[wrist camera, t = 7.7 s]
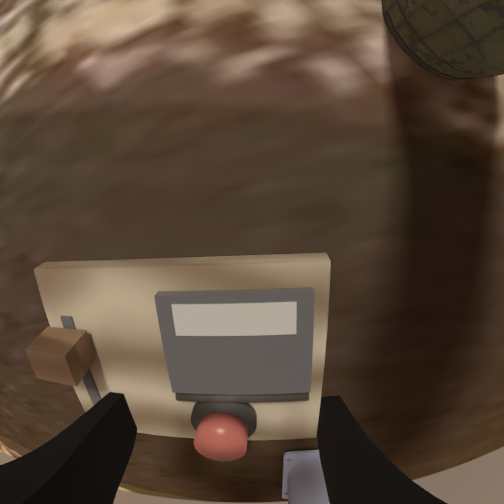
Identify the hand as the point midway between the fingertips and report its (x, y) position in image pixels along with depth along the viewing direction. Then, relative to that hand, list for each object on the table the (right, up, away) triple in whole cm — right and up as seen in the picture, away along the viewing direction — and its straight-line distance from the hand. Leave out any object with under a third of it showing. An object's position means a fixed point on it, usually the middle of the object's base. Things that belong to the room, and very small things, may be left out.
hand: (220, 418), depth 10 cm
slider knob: (-12, 0, +10) cm, 15 cm away
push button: (-1, -7, +10) cm, 12 cm away
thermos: (+13, +21, +4) cm, 25 cm away
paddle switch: (0, 0, +9) cm, 9 cm away
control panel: (-4, -2, +12) cm, 12 cm away
